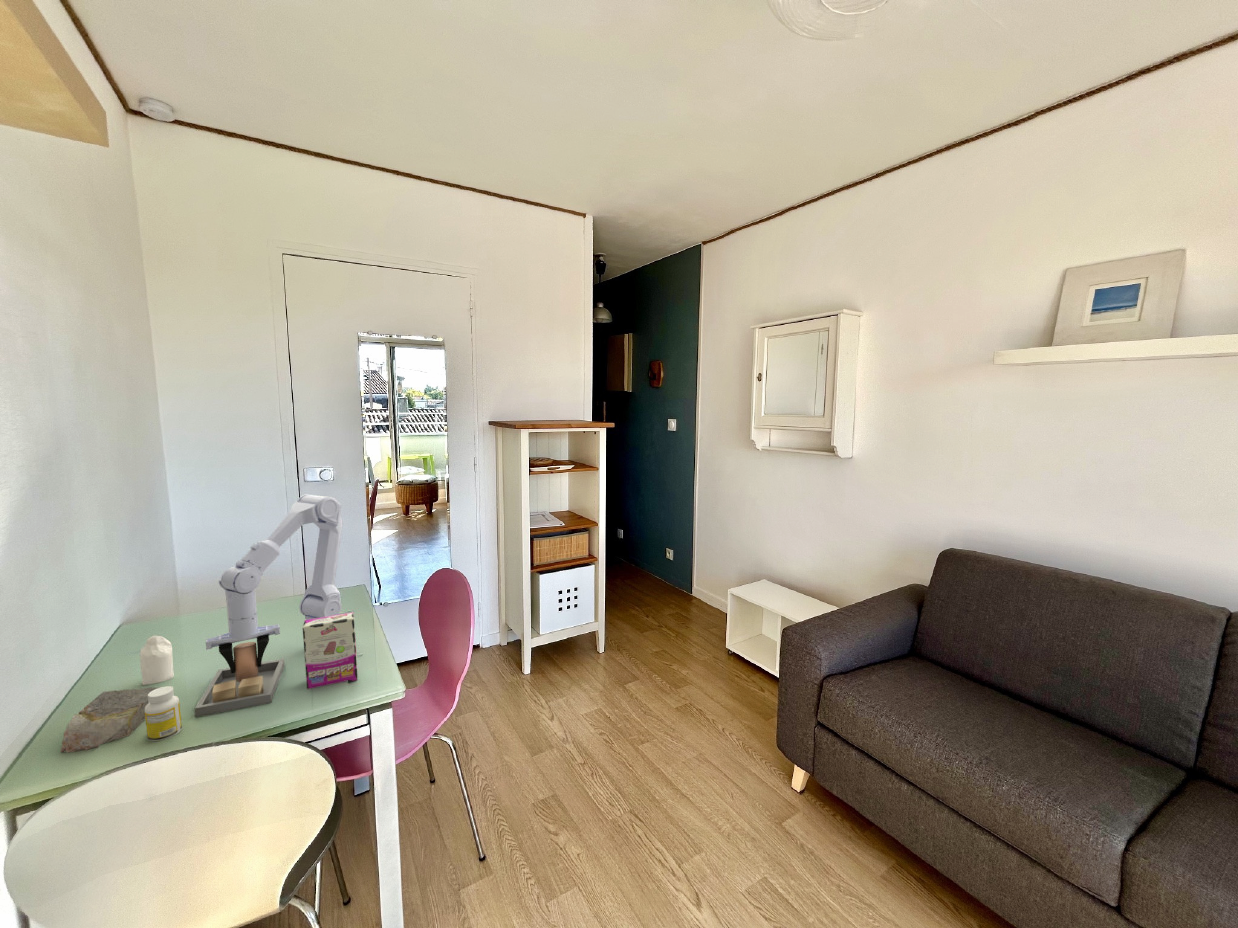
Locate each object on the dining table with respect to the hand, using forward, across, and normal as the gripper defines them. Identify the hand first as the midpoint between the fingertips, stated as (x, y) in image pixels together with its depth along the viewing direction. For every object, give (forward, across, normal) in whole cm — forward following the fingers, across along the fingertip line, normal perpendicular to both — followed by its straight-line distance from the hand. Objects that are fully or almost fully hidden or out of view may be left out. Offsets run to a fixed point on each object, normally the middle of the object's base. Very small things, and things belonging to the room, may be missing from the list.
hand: (246, 668), depth 126 cm
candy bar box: (+4, -17, +10) cm, 21 cm away
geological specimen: (+5, +23, +4) cm, 24 cm away
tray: (+4, +1, +3) cm, 5 cm away
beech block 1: (+4, +4, +8) cm, 10 cm away
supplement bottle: (+4, +14, +14) cm, 20 cm away
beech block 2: (+4, -1, +9) cm, 10 cm away
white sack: (+4, +18, -15) cm, 24 cm away
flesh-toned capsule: (+2, 0, 0) cm, 2 cm away
